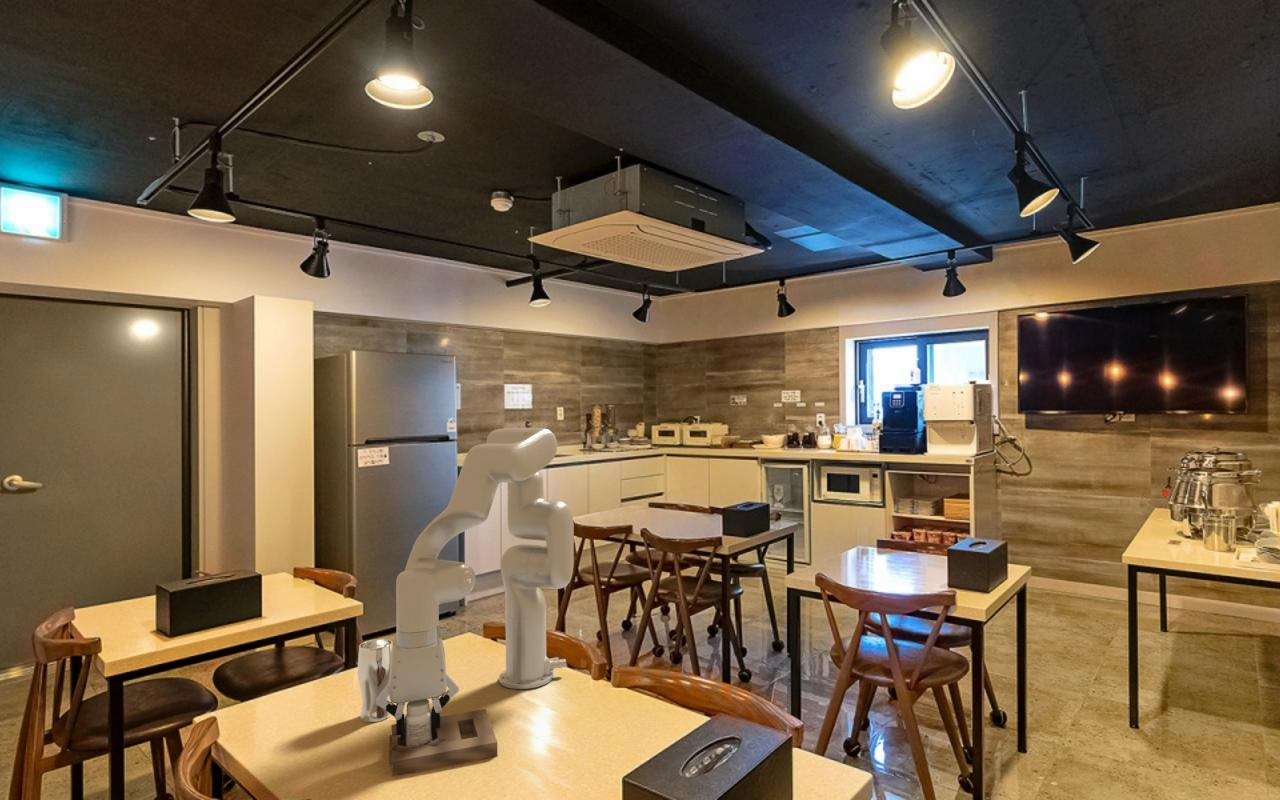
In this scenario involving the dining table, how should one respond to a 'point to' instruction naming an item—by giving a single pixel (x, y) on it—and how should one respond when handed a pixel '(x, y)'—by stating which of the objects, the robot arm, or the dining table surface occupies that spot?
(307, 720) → the dining table surface
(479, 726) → the socket plate
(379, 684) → the beer glass
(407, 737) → the pill bottle
